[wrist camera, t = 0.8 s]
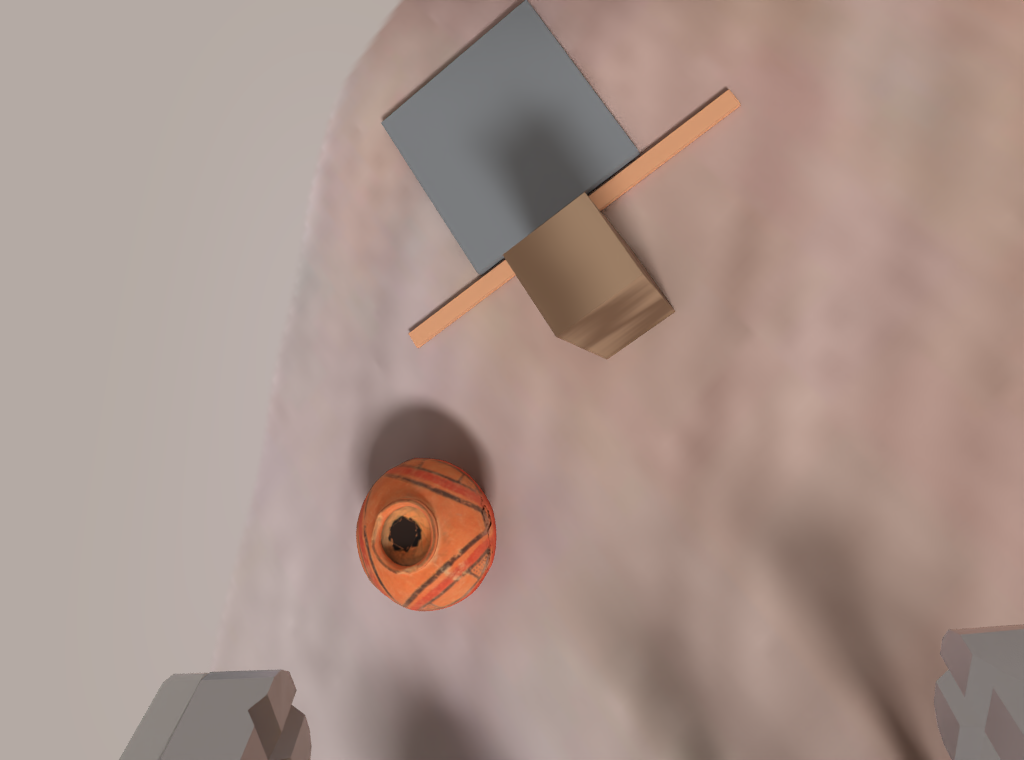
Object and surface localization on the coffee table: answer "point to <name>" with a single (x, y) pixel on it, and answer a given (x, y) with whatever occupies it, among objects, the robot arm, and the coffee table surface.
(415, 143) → the mat
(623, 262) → the wooden square post
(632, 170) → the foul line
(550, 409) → the coffee table surface
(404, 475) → the pot
